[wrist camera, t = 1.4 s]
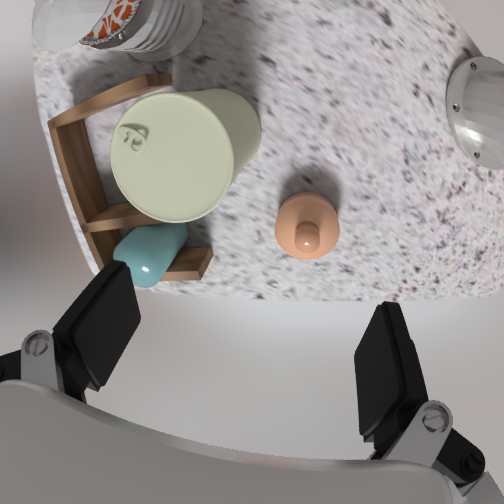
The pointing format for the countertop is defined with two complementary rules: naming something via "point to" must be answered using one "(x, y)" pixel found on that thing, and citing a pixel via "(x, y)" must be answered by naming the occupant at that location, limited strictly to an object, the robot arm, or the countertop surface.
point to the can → (183, 151)
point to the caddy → (90, 189)
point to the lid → (307, 225)
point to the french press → (119, 25)
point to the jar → (151, 250)
